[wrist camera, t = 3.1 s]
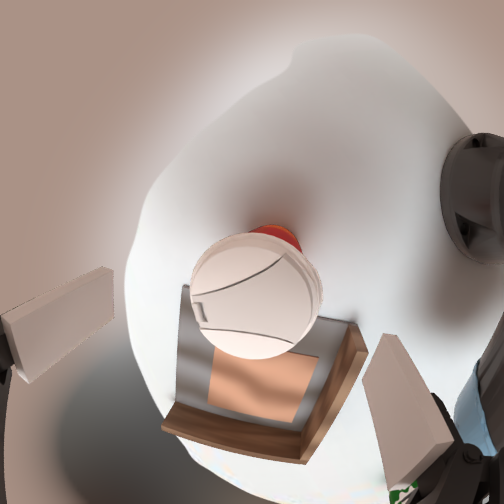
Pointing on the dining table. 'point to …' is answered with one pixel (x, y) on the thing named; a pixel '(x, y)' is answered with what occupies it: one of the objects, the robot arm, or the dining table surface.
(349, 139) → the dining table surface
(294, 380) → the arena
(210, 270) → the paper cup
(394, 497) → the milk carton
